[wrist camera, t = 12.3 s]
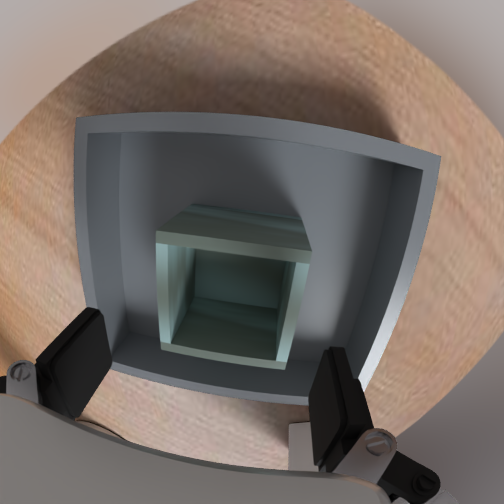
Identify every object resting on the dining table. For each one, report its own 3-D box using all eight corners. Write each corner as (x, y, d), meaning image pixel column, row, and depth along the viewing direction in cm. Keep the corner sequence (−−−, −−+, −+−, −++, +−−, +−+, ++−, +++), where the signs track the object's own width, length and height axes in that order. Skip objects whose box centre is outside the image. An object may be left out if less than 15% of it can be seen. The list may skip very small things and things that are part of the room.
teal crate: (284, 312, 20) (284, 369, 15) (188, 298, 21) (161, 349, 15) (301, 217, 18) (312, 251, 12) (192, 203, 18) (155, 230, 13)
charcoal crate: (345, 364, 23) (355, 406, 18) (125, 331, 24) (101, 365, 19) (404, 151, 17) (441, 156, 12) (117, 120, 17) (76, 117, 13)
